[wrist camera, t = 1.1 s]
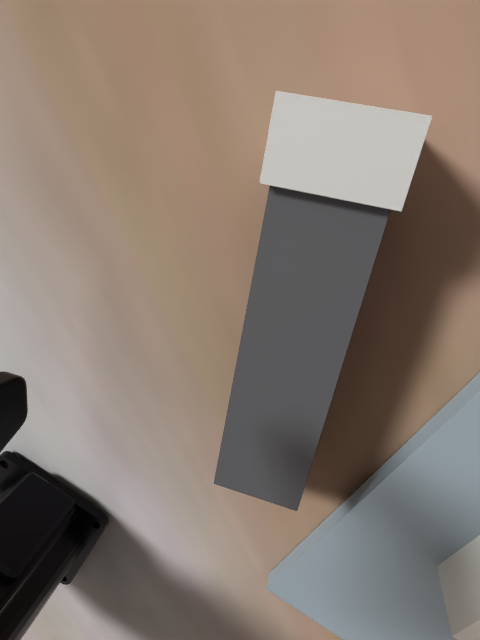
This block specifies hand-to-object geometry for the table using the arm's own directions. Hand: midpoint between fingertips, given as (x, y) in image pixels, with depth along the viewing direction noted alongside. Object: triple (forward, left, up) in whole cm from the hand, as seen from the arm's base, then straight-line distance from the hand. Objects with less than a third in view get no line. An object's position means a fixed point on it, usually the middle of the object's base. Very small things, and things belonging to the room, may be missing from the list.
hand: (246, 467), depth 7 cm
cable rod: (0, 0, -8) cm, 8 cm away
